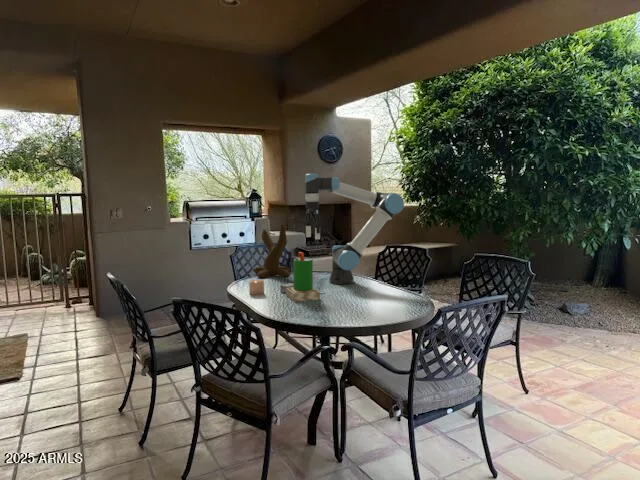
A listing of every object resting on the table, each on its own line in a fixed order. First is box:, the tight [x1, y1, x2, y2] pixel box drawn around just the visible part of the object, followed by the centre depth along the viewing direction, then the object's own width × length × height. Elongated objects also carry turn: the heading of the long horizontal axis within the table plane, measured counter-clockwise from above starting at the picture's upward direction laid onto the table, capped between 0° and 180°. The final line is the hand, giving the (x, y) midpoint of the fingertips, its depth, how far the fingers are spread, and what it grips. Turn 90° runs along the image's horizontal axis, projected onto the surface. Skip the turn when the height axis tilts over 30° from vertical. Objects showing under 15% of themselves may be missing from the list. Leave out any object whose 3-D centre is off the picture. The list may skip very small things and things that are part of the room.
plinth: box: [285, 287, 321, 302], centre depth 231 cm, size 14×14×5 cm
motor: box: [293, 251, 314, 291], centre depth 230 cm, size 10×9×20 cm
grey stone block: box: [280, 282, 294, 294], centre depth 245 cm, size 8×5×4 cm, turn 143°
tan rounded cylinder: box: [248, 279, 265, 297], centre depth 239 cm, size 8×8×7 cm
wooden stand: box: [253, 223, 291, 279], centre depth 293 cm, size 29×29×35 cm
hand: (313, 238), depth 250 cm, fingers open, 13 cm apart
